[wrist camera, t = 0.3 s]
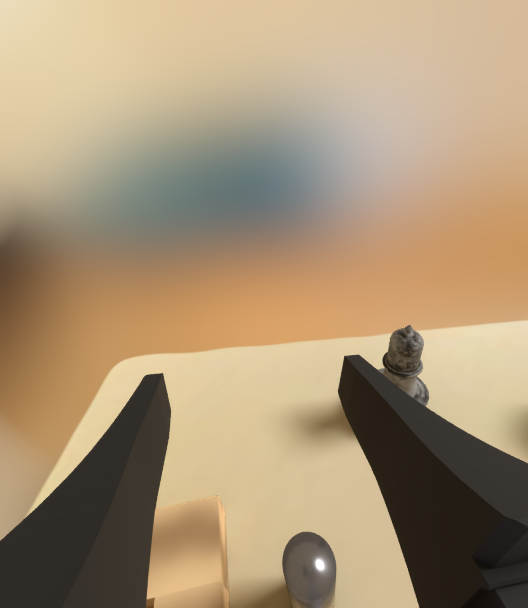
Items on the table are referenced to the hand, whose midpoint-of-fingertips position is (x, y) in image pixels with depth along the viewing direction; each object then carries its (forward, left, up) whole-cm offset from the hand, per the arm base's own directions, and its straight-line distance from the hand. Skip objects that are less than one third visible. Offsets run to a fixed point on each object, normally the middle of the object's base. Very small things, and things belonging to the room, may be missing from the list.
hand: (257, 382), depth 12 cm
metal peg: (-3, -1, -21) cm, 21 cm away
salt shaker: (+10, -14, -21) cm, 27 cm away
